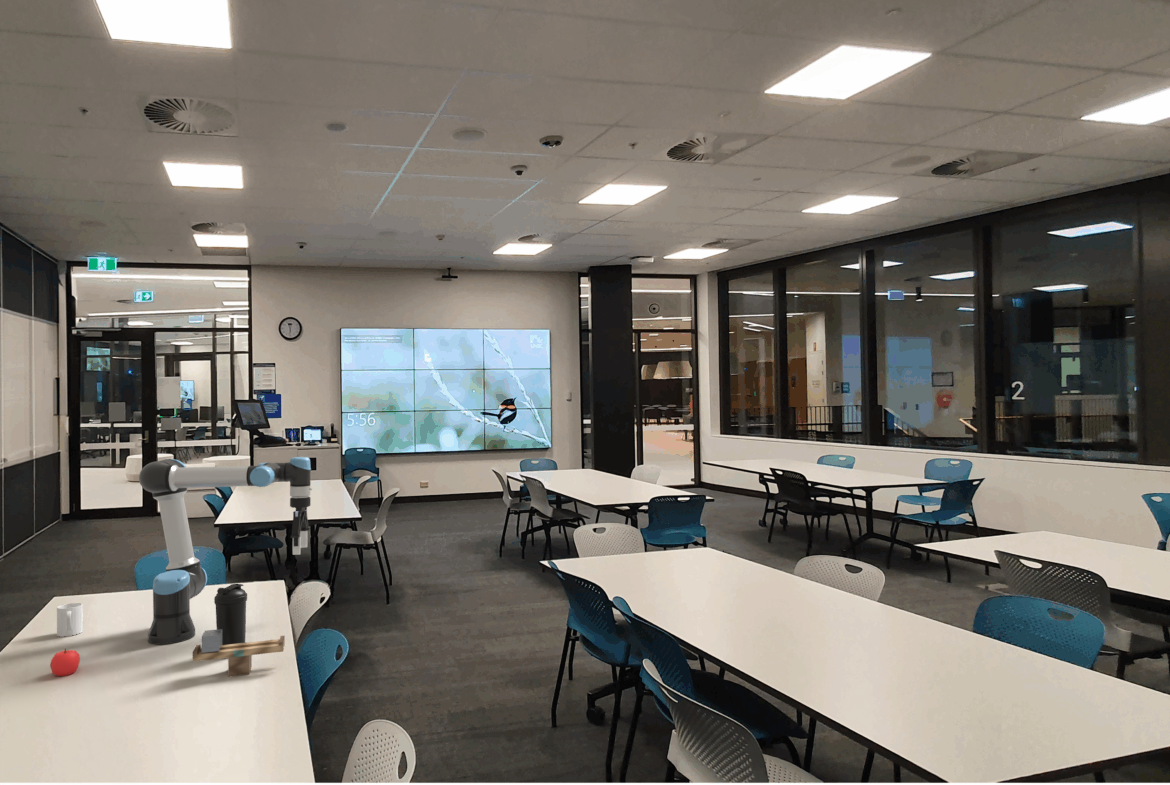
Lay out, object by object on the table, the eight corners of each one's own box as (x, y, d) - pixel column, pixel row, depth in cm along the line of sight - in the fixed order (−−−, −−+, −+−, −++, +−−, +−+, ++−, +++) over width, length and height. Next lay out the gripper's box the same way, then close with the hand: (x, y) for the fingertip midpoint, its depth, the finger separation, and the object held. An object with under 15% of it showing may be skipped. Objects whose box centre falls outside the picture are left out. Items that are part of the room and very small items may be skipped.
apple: (77, 667, 243) (77, 642, 243) (83, 673, 237) (82, 648, 237) (47, 673, 237) (47, 648, 237) (52, 680, 231) (52, 654, 231)
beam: (192, 681, 229) (192, 652, 229) (196, 672, 236) (196, 644, 236) (283, 670, 237) (283, 642, 237) (284, 662, 244) (284, 635, 244)
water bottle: (254, 650, 257) (253, 584, 257) (229, 660, 247) (228, 591, 248) (233, 646, 261) (233, 581, 261) (208, 656, 252) (207, 588, 252)
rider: (201, 659, 230) (201, 636, 230) (205, 652, 237) (205, 630, 237) (219, 657, 232) (219, 634, 232) (222, 650, 238) (222, 628, 238)
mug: (57, 632, 279) (57, 605, 279) (83, 629, 283) (82, 601, 283) (55, 641, 269) (55, 612, 269) (81, 637, 273) (81, 609, 273)
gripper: (304, 500, 279) (303, 557, 279) (316, 492, 304) (315, 544, 304) (282, 501, 278) (282, 558, 278) (296, 492, 303) (296, 544, 302)
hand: (300, 551), depth 291 cm, fingers open, 13 cm apart
